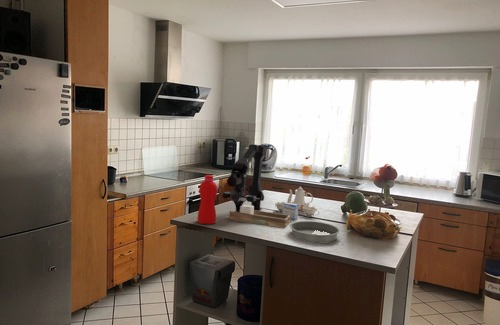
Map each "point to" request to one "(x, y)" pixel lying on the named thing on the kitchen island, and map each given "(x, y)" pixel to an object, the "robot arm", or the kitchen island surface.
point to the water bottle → (207, 201)
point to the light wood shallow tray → (262, 218)
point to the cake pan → (306, 229)
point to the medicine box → (291, 210)
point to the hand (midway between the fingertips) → (238, 211)
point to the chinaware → (299, 203)
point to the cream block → (247, 209)
